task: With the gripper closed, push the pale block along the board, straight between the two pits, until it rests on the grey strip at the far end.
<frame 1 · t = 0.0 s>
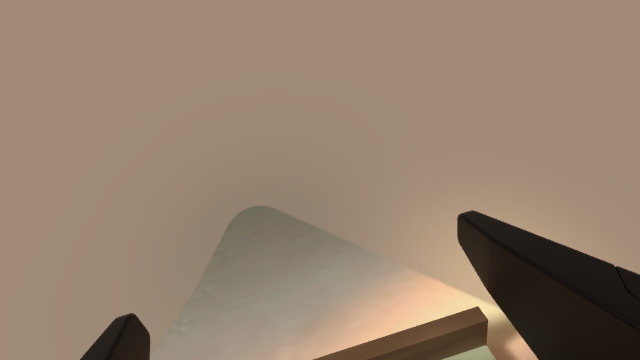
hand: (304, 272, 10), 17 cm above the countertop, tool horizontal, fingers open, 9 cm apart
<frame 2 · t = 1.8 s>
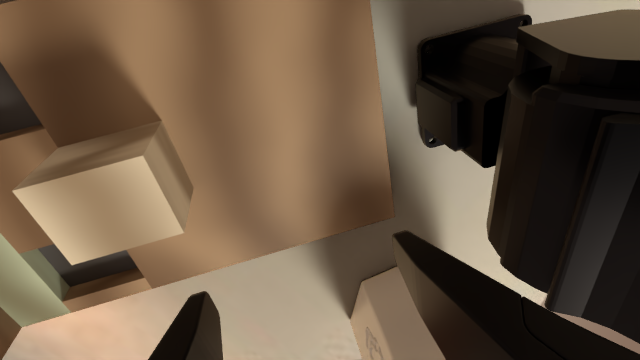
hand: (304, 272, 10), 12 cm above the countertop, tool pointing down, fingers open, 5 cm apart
block: (130, 169, 18), point 1 cm above the countertop, touching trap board
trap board: (155, 151, 19), on the countertop
jar: (397, 297, 30), on the countertop
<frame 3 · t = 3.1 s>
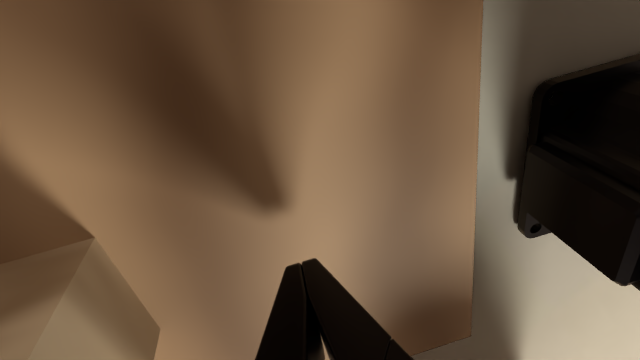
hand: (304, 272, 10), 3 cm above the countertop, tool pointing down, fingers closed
block: (45, 313, 10), point 1 cm above the countertop, touching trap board
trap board: (97, 267, 12), on the countertop
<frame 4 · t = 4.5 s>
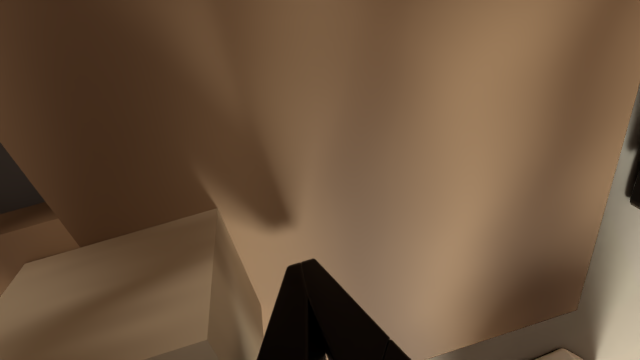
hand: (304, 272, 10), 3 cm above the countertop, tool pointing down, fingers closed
block: (157, 287, 10), point 2 cm above the countertop, touching gripper
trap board: (238, 232, 12), on the countertop
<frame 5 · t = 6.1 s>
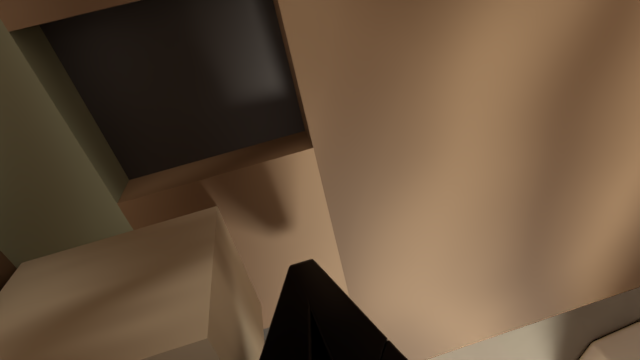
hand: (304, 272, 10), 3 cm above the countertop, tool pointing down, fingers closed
block: (156, 286, 10), point 1 cm above the countertop, touching gripper, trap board
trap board: (421, 179, 12), on the countertop
jar: (616, 356, 23), on the countertop
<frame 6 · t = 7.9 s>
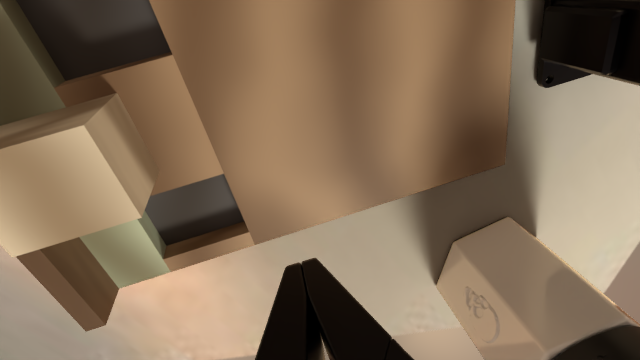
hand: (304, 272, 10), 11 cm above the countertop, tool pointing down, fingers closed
block: (85, 150, 16), point 1 cm above the countertop, touching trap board
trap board: (269, 90, 18), on the countertop
jar: (484, 260, 28), on the countertop
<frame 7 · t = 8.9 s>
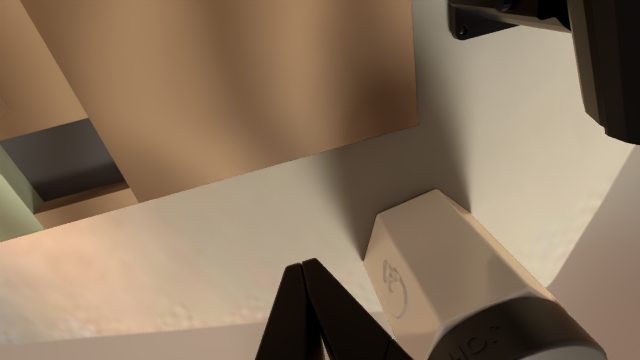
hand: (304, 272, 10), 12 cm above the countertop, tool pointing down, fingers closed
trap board: (141, 27, 16), on the countertop
jar: (415, 237, 27), on the countertop
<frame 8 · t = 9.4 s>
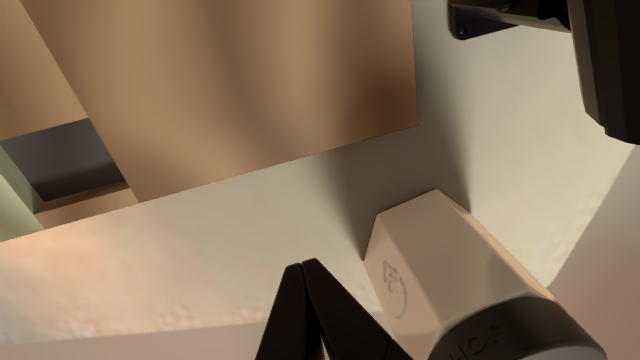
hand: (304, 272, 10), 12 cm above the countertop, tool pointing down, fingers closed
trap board: (141, 27, 16), on the countertop
jar: (415, 237, 27), on the countertop
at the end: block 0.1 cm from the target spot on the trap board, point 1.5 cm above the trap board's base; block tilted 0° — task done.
